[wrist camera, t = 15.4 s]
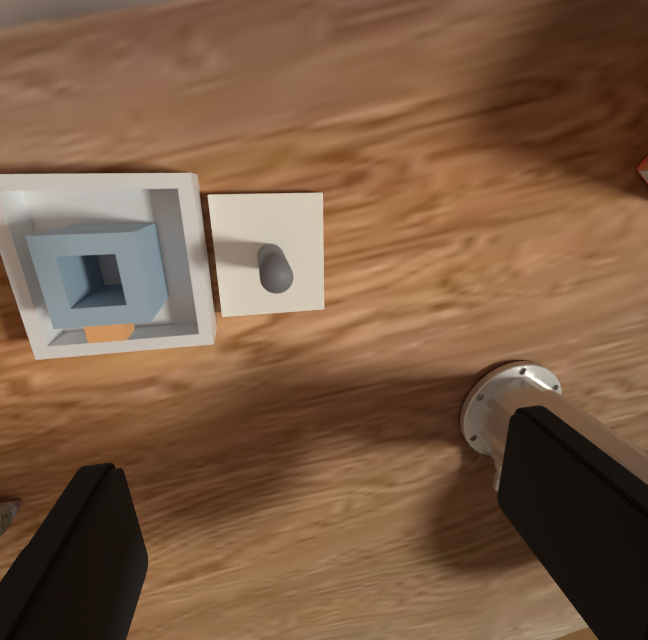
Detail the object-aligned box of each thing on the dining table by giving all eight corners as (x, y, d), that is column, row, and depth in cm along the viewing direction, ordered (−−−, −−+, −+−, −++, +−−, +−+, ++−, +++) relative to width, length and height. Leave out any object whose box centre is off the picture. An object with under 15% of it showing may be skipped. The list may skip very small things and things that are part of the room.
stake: (321, 305, 34) (343, 341, 26) (223, 312, 32) (214, 352, 25) (320, 192, 30) (344, 195, 23) (209, 194, 29) (194, 198, 21)
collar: (156, 222, 28) (133, 232, 22) (171, 309, 30) (154, 337, 25) (71, 225, 27) (25, 236, 21) (94, 315, 29) (58, 345, 24)
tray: (217, 328, 33) (213, 344, 29) (58, 341, 30) (35, 359, 27) (197, 174, 28) (190, 172, 25) (8, 175, 26) (-26, 174, 23)
